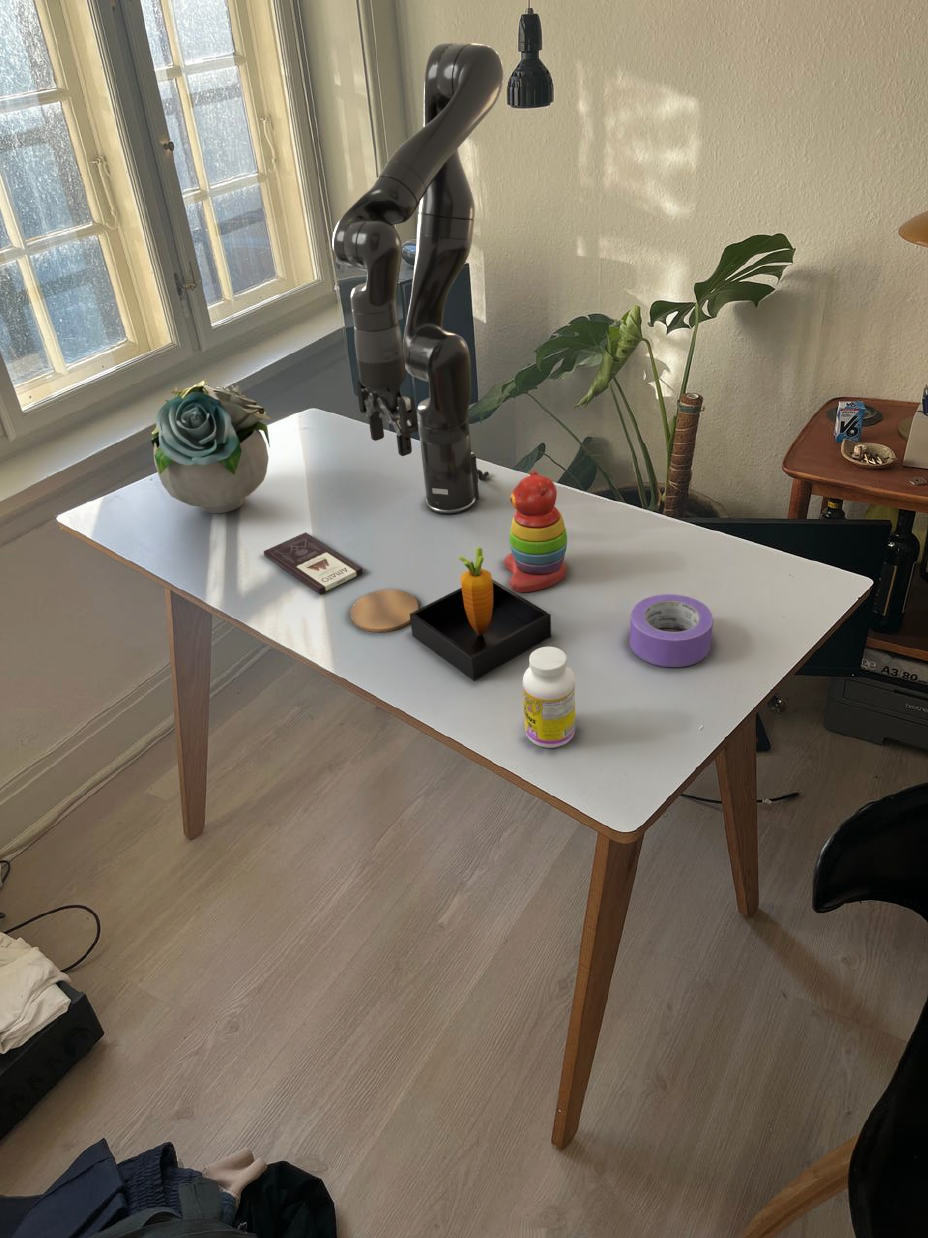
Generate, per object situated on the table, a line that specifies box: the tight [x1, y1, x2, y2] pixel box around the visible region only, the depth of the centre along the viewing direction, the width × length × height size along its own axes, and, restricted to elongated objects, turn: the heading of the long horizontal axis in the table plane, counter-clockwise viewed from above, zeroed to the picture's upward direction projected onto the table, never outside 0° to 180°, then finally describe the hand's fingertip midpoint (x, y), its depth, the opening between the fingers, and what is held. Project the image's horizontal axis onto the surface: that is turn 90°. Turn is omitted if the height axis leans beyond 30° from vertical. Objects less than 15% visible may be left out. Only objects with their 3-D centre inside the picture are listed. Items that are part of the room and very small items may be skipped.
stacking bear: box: [504, 470, 568, 593], centre depth 148 cm, size 11×10×18 cm
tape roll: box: [629, 593, 714, 668], centre depth 134 cm, size 12×12×5 cm
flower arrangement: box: [150, 377, 272, 514], centre depth 175 cm, size 25×25×24 cm
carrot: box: [458, 546, 493, 636], centre depth 136 cm, size 5×5×15 cm
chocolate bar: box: [263, 531, 364, 595], centre depth 161 cm, size 9×1×18 cm
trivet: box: [349, 589, 420, 633], centre depth 148 cm, size 11×11×1 cm
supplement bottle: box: [522, 646, 576, 749], centre depth 118 cm, size 7×7×13 cm
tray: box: [410, 578, 552, 682], centre depth 139 cm, size 15×15×4 cm
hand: (391, 446), depth 155 cm, fingers open, 8 cm apart
